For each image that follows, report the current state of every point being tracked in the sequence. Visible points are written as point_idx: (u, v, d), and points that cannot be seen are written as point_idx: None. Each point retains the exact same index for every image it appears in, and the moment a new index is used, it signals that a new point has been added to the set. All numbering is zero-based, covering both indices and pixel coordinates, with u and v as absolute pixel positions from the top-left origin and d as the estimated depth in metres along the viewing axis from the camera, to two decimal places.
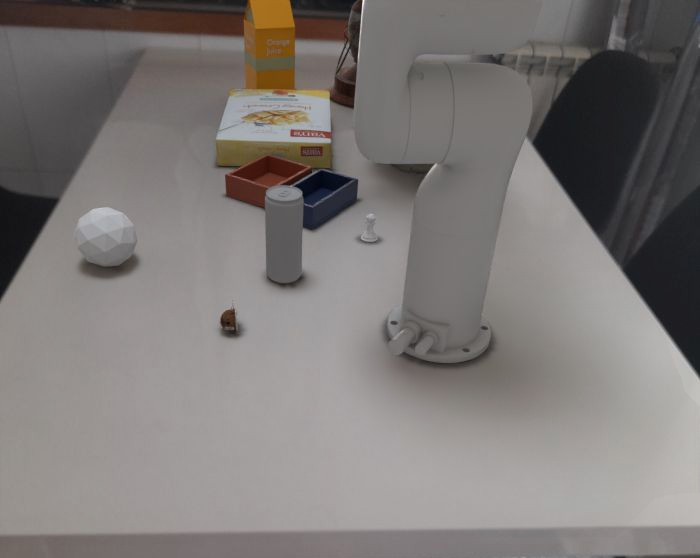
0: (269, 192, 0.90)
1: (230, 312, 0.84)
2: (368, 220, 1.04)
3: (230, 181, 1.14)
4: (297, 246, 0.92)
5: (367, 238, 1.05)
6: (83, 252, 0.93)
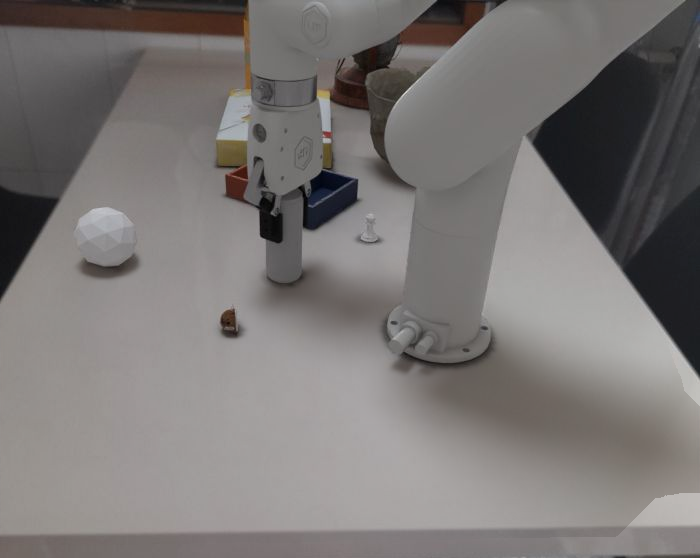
0: None
1: (230, 312, 0.84)
2: (368, 220, 1.04)
3: (230, 181, 1.14)
4: (297, 246, 0.92)
5: (367, 238, 1.05)
6: (83, 252, 0.93)
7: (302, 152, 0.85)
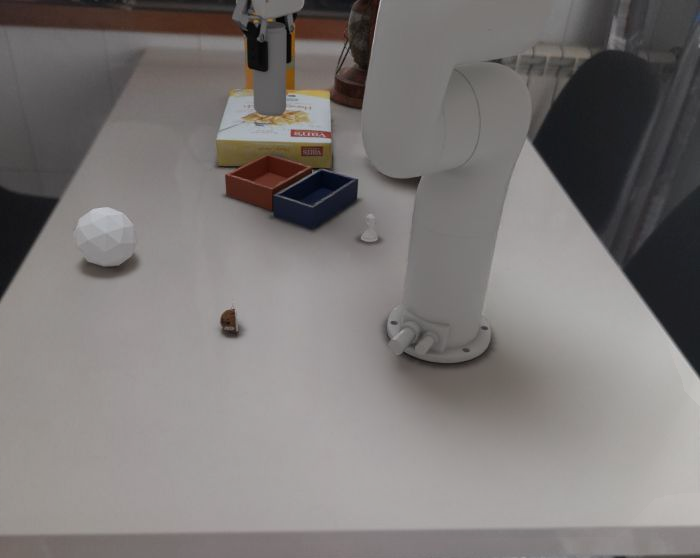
0: (255, 25, 1.00)
1: (230, 312, 0.84)
2: (368, 220, 1.04)
3: (230, 181, 1.14)
4: (281, 77, 1.02)
5: (367, 238, 1.05)
6: (83, 252, 0.93)
7: None
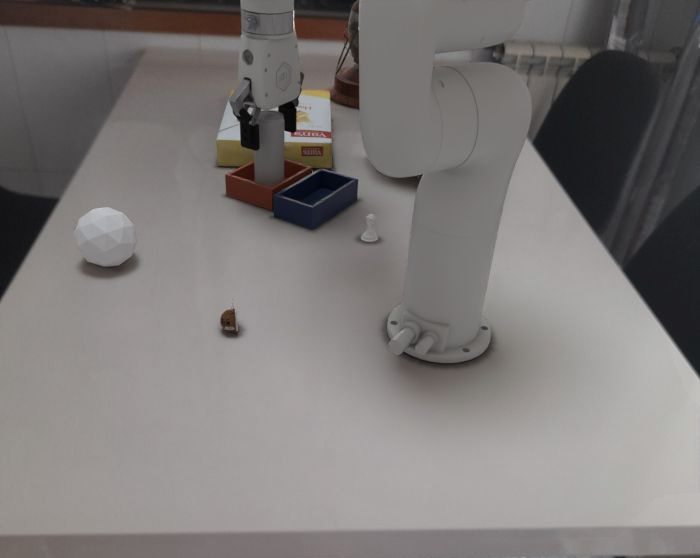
0: None
1: (230, 312, 0.84)
2: (368, 220, 1.04)
3: (230, 181, 1.14)
4: (280, 160, 1.13)
5: (367, 238, 1.05)
6: (83, 252, 0.93)
7: (282, 75, 1.05)
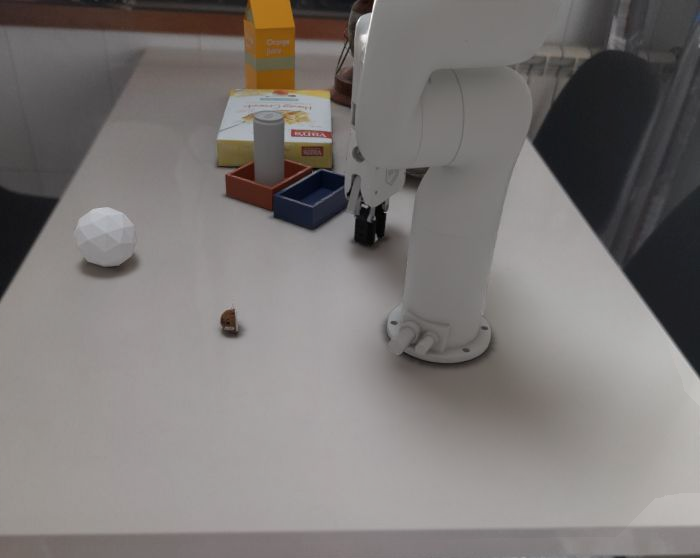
0: (256, 115, 1.11)
1: (230, 312, 0.84)
2: None
3: (230, 181, 1.14)
4: (280, 160, 1.13)
5: None
6: (83, 252, 0.93)
7: (391, 170, 0.98)
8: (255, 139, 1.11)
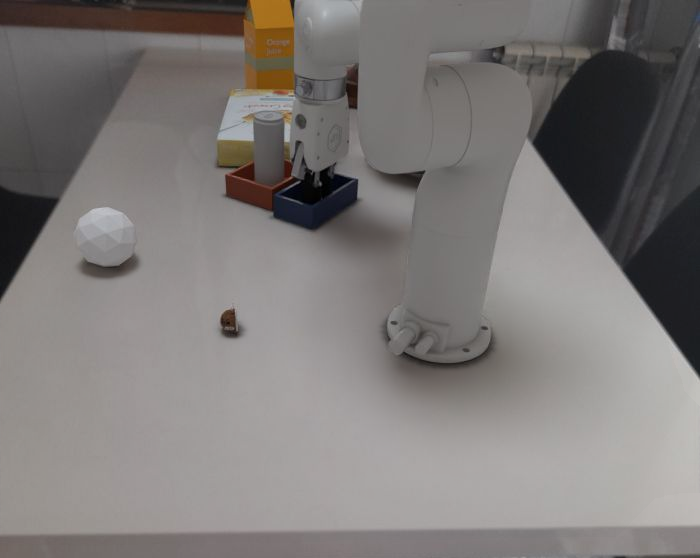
0: (256, 115, 1.11)
1: (230, 312, 0.84)
2: None
3: (230, 181, 1.14)
4: (280, 160, 1.13)
5: None
6: (83, 252, 0.93)
7: (333, 137, 1.05)
8: (255, 139, 1.11)
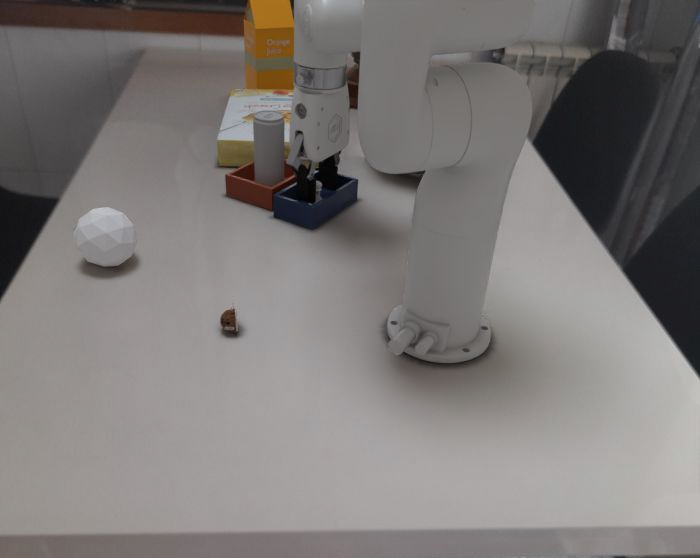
0: (256, 115, 1.11)
1: (230, 312, 0.84)
2: None
3: (230, 181, 1.14)
4: (280, 160, 1.13)
5: None
6: (83, 252, 0.93)
7: (333, 127, 1.05)
8: (255, 139, 1.11)
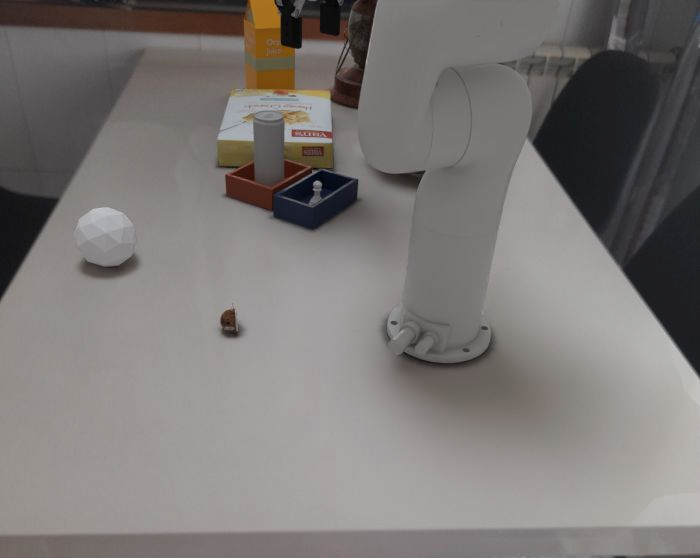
0: (256, 115, 1.11)
1: (230, 312, 0.84)
2: (315, 186, 1.11)
3: (230, 181, 1.14)
4: (280, 160, 1.13)
5: None
6: (83, 252, 0.93)
7: None
8: (255, 139, 1.11)
